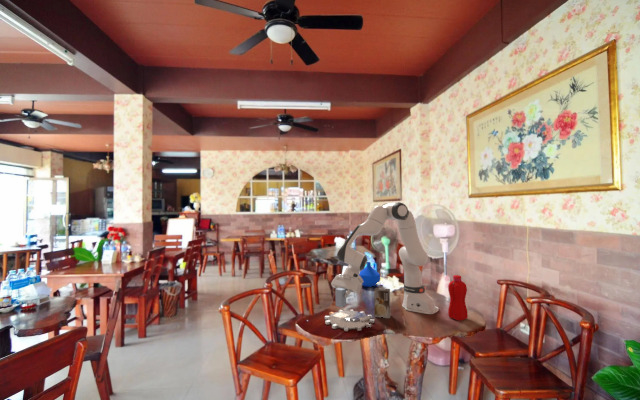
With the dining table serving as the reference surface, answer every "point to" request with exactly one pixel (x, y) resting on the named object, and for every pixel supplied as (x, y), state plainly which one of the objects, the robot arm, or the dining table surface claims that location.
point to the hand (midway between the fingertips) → (340, 295)
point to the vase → (369, 276)
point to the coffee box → (382, 302)
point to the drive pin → (340, 297)
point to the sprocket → (349, 320)
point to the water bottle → (457, 299)
